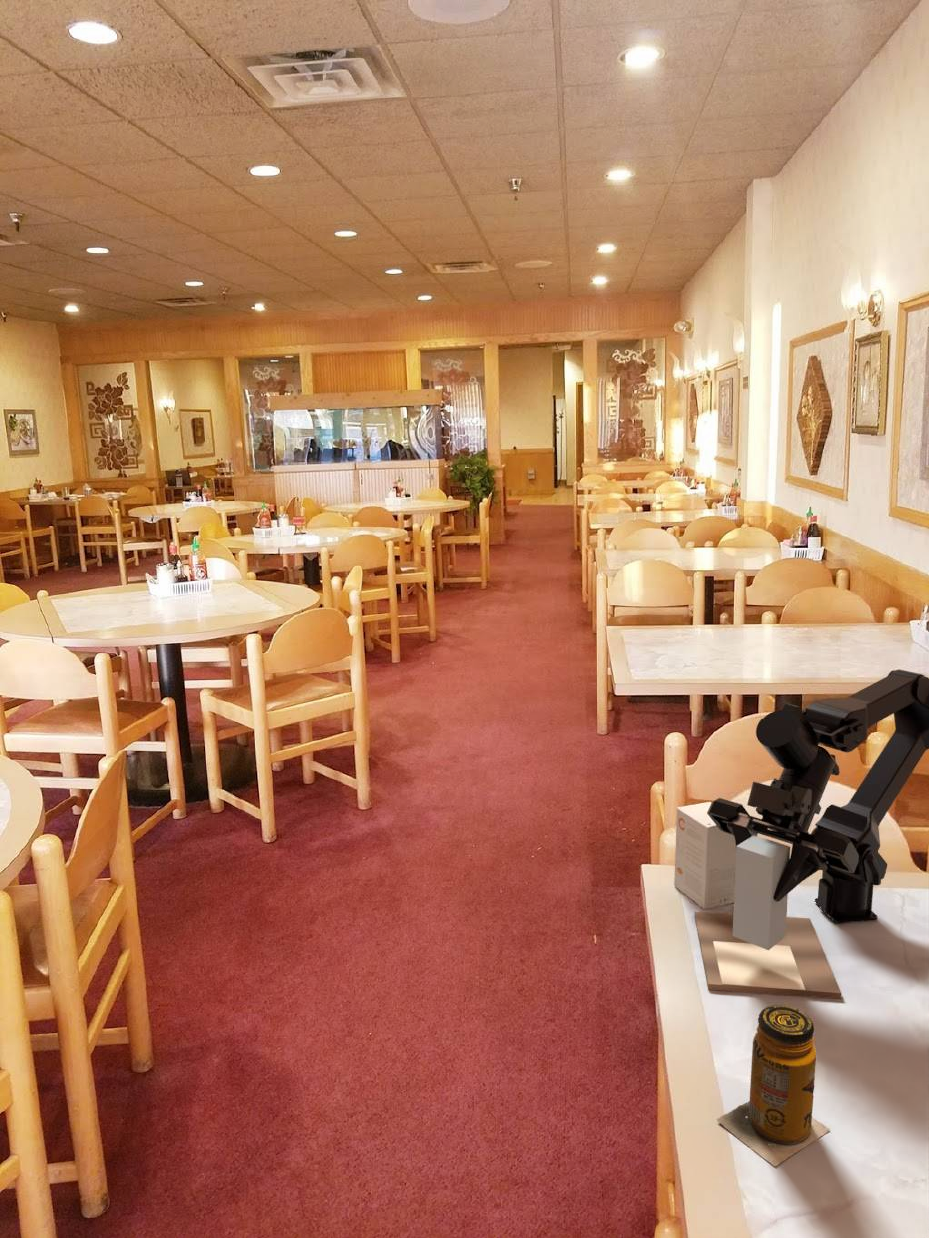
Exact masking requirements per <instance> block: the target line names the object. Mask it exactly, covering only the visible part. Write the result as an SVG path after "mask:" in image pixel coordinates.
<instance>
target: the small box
mask: <svg viewBox="0 0 929 1238" xmlns="http://www.w3.org/2000/svg"><path fill="white" fill-rule="evenodd" d="M711 803H712V802H711V801H708V802H706V801H705V802H702V803H696V804H690V805H685V806H684V805H682V806H678V807H676V822H675V823H676V824H675V825H676V828H675V851H674V855H675V856H674V857H675V858H674V880H673V886H674V887H675V888H677V890H679V891H680V892H682V893H683V894H684V895H685V896H687V897H688V898H689V899H690V900H692V901H694V902H695V903H696V904H697V905H698V906H700V907H701V908H702V909H704V910H707V909H713V908H717V907H720V906H726V905H728V904H732V903H733V904H734V889H735V884H734V880H735V862H736V844H735V837H734V836H733V835H731V834H728V833H725V832H723V831H721V830H720V829H719V828H718V827H717V825H716V824H715V823H714V822H713V820H712V819H711V818H710V816H709V815H708V814H707V812H708V810H709V807H710V805H711Z"/></svg>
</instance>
